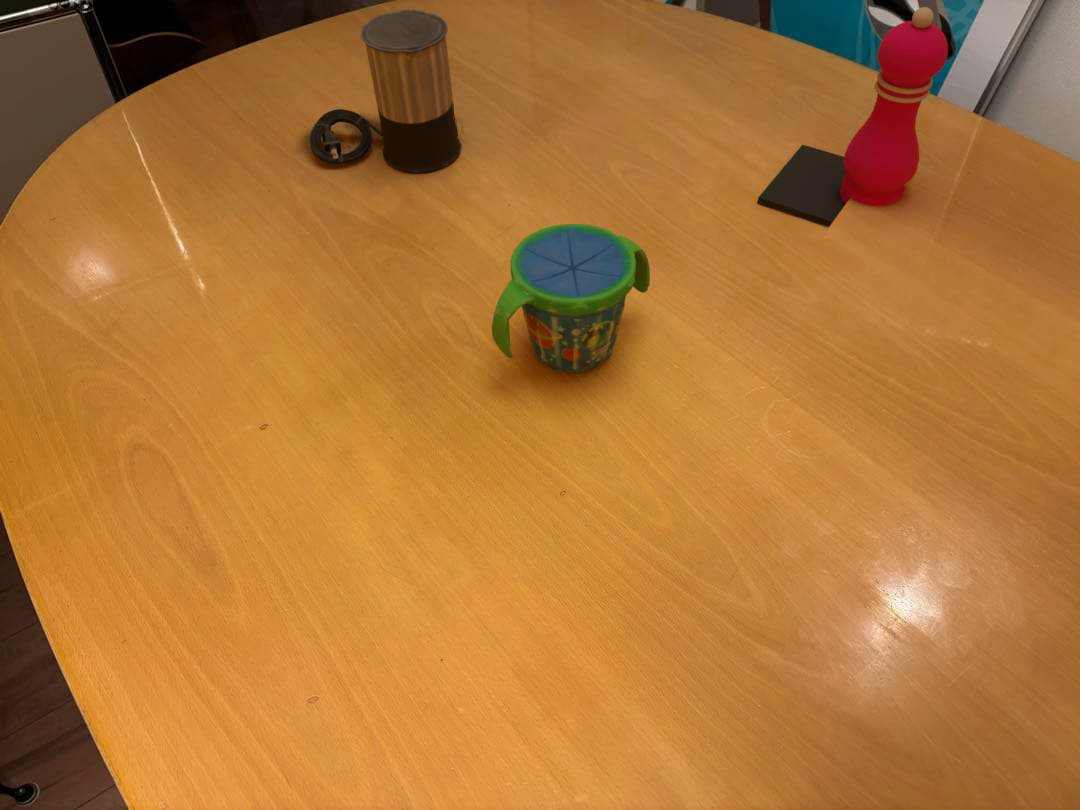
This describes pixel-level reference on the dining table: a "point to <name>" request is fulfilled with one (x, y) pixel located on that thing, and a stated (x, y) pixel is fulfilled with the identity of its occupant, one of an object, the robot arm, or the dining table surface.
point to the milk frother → (402, 96)
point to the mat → (808, 186)
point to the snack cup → (570, 293)
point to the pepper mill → (894, 113)
